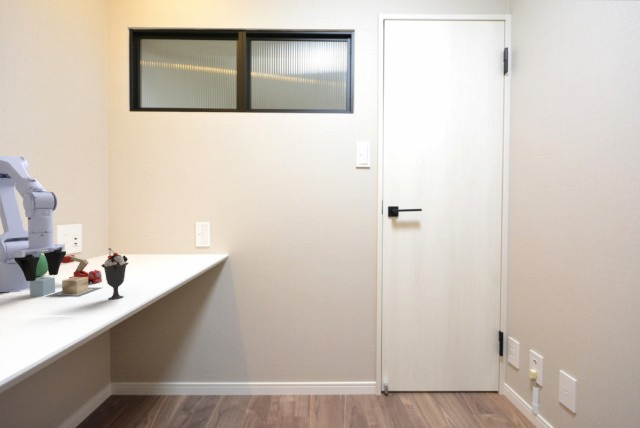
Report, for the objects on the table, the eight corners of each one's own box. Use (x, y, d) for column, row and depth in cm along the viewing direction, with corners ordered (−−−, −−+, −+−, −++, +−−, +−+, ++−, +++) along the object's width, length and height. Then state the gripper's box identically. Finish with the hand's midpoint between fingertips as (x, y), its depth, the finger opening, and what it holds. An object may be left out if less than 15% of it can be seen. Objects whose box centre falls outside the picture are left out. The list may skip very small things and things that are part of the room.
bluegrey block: (30, 297, 94) (29, 280, 94) (42, 293, 98) (41, 277, 98) (43, 297, 94) (43, 280, 94) (55, 293, 98) (54, 277, 98)
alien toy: (56, 275, 123) (55, 249, 123) (31, 279, 116) (30, 252, 116) (46, 273, 126) (45, 248, 125) (21, 277, 119) (20, 250, 118)
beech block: (62, 293, 96) (62, 280, 96) (74, 289, 100) (73, 277, 100) (77, 293, 96) (76, 280, 96) (88, 289, 100) (88, 277, 100)
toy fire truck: (96, 285, 108) (95, 256, 108) (58, 284, 109) (58, 256, 109) (103, 282, 111) (103, 255, 111) (67, 281, 113) (66, 254, 112)
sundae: (100, 304, 87) (99, 249, 87) (103, 297, 93) (102, 246, 93) (128, 300, 90) (127, 247, 90) (130, 294, 96) (129, 245, 96)
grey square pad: (45, 297, 93) (45, 296, 93) (72, 288, 103) (72, 287, 103) (79, 297, 93) (79, 296, 93) (103, 288, 103) (103, 287, 103)
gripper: (31, 234, 88) (33, 283, 88) (73, 230, 102) (74, 272, 103) (6, 234, 88) (8, 283, 88) (51, 230, 103) (53, 272, 103)
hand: (42, 277), depth 96 cm, fingers open, 7 cm apart
